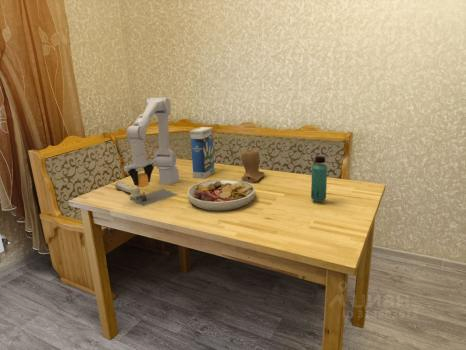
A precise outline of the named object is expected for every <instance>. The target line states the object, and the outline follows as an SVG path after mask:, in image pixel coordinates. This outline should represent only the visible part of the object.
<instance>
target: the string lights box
mask: <svg viewBox="0 0 466 350" xmlns="http://www.w3.org/2000/svg"><path fill="white" fill-rule="evenodd" d="M189 133H190V134H189V135H190V146H191V147H190V148H191V162H192V175H193V176H192V177H193V178H195V179H206V178H207V177H209V176H210V175H212V174H214V173H215V154H214V137H213V127H211V126H210V127H209V126H208V127H207V126H200V127H197V128H194V129H192V130H189Z"/></svg>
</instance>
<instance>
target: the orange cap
mask: <svg viewBox="0 0 466 350" xmlns="http://www.w3.org/2000/svg"><path fill="white" fill-rule="evenodd" d="M149 183H150V182H148V176H147V173H145V172H141V173H140V172H138V186H136V187H139V188H147V187H148V186H149Z"/></svg>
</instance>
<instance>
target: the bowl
mask: <svg viewBox="0 0 466 350" xmlns="http://www.w3.org/2000/svg"><path fill="white" fill-rule="evenodd" d="M255 195H256V188H255V185H253V184H252V183H251V182H247V181H245V180H240V179H230V178H228V179H227V178H226V179H225V178H222V179H211V180H206V181H202V182H199V183H198V182H197V183H196V184H193V185H191V187H189V188H188V190H187V199H188V200H189V202H190V203H191V204H192V205H194V206H195V207H198V208H200V209H204V210H207V211H218V212H219V211H231V210H235V209H239V208H241V207H244V206H246V205H248V204H249V203H250V202H251V201H252V200H253V199H254V197H255Z"/></svg>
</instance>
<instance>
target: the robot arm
mask: <svg viewBox="0 0 466 350" xmlns="http://www.w3.org/2000/svg"><path fill="white" fill-rule="evenodd" d="M171 112H172V111H171V101H170V98H169V97H166V96H165V97H148V98H147V100H146V107H145V110H144V111H143V113H141V114H139V115H138V116H137V118H136V119H135V121H134V122H133V124H132V125H130V126H128V127H127V129H126V133H125V134H126V135H125V136H126V138H127V139H128V143H129V144H130V149H131V159H132V163H130V164H128V165H125V166H123V172H125V173H128V175H129V176H130V178H131V179H132V181H133V184H134V186H135V187H137V186H138V174H139V171H138V169H140V168H143V171H144V172H143V173H147V176H148V183H150V182H151V177H152V173H153V170H154V169H155V168H154V167H157V170H158V175H159V183H160V185H161V186H162V185H164V186H167V185H169V186H170V185H172V184H174V183H177V182H180V173H179V169H178V167H177V166H176V165H177V158H176V153H175V152H174V151H173V150H172V149H171V148H170V135H169V134H170V131H169V129H170V127H169V116H170V115H171ZM153 115H155V116H156V117H157V129H158V150H156V151H155V153H154V159H150V160H147V156H146V154H147V153H146V147H145V145H146V144H145V138H146V135H147V130H148V127H150V124H151V118H152V117H153Z"/></svg>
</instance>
